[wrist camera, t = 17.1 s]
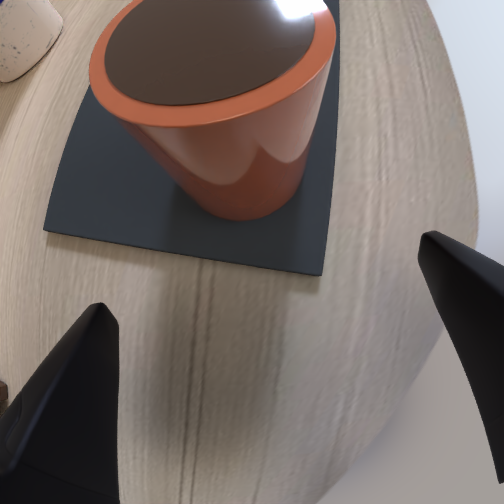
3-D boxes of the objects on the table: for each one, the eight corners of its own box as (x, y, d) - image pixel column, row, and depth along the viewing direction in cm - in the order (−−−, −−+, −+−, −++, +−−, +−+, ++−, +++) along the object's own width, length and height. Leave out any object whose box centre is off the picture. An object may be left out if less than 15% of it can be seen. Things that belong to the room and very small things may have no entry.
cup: (312, 215, 14) (368, 112, 5) (182, 227, 14) (67, 155, 5) (295, 103, 15) (307, -39, 6) (180, 116, 15) (111, -7, 6)
